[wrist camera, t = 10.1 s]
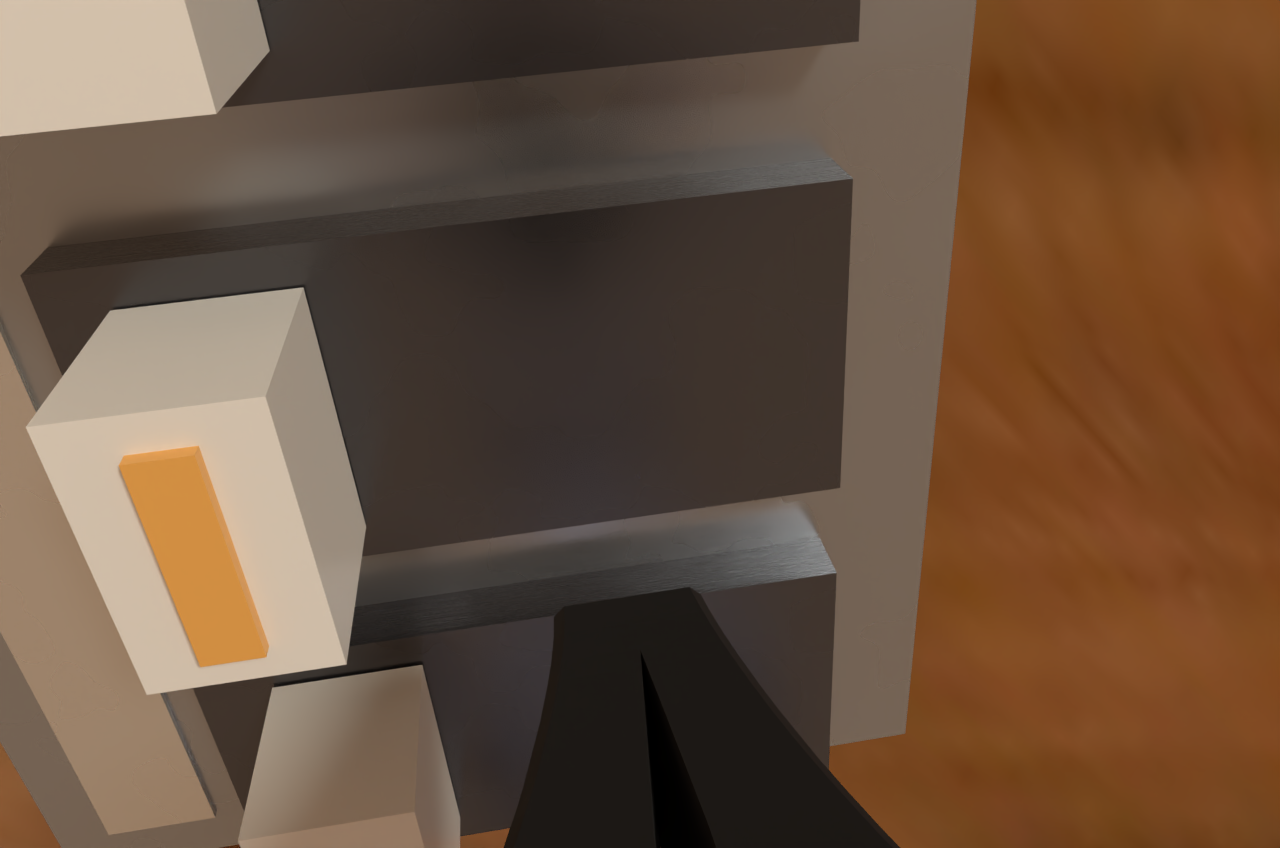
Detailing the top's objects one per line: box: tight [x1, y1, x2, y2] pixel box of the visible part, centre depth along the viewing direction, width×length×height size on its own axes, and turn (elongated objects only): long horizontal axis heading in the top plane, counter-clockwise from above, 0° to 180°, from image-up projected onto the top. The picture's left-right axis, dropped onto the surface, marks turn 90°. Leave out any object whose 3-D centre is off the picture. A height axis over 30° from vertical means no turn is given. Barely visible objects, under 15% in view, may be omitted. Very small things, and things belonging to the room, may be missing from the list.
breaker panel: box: [0, 0, 976, 848], centre depth 16 cm, size 20×17×2 cm
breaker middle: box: [26, 288, 366, 695], centre depth 13 cm, size 4×2×3 cm, turn 4°
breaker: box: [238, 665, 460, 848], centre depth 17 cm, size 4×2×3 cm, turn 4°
